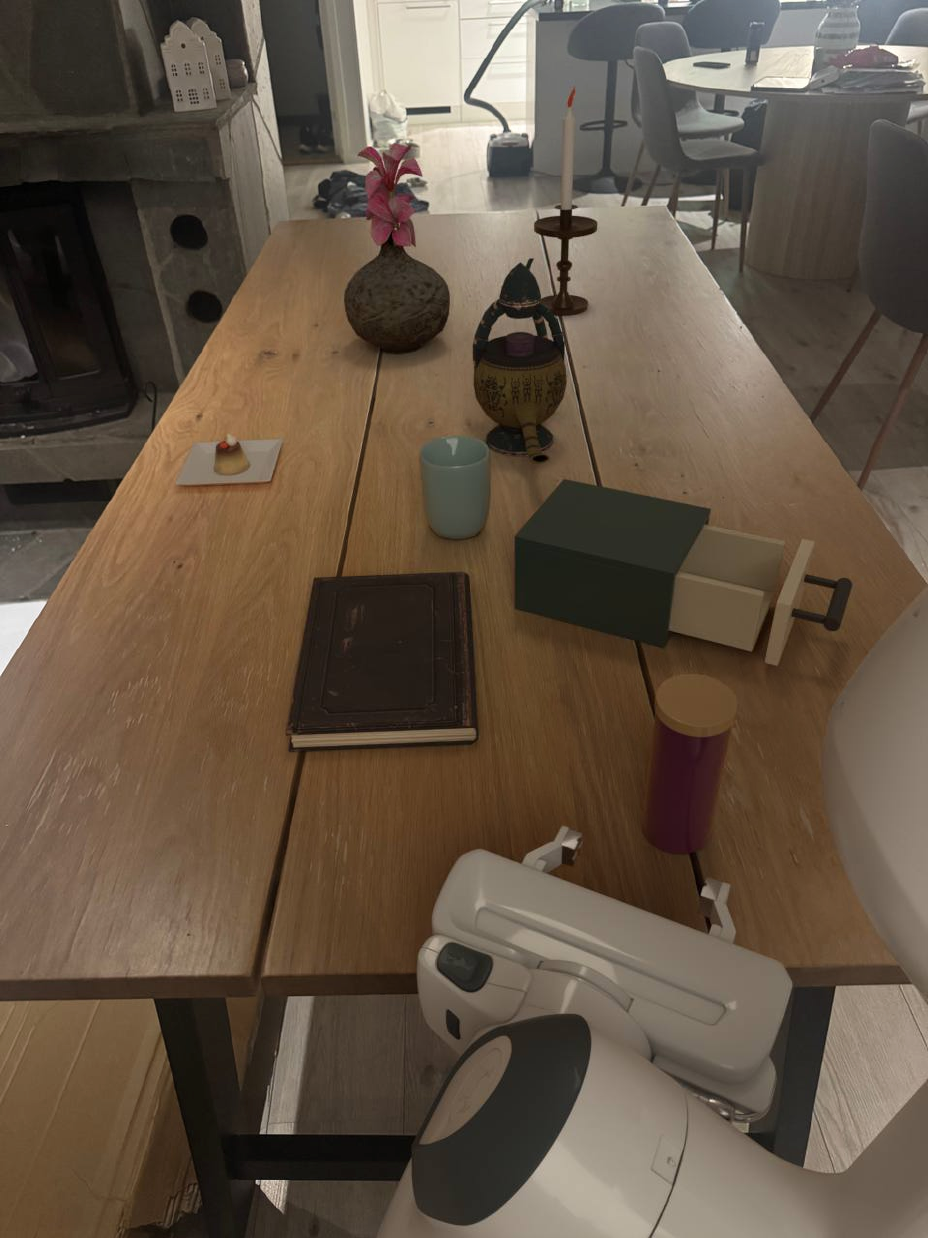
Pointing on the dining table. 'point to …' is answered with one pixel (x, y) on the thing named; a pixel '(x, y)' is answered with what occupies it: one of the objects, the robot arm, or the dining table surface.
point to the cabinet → (605, 559)
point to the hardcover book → (385, 664)
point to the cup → (455, 485)
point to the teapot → (519, 370)
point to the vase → (394, 267)
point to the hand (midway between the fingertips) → (643, 860)
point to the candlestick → (566, 226)
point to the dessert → (230, 462)
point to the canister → (687, 761)
